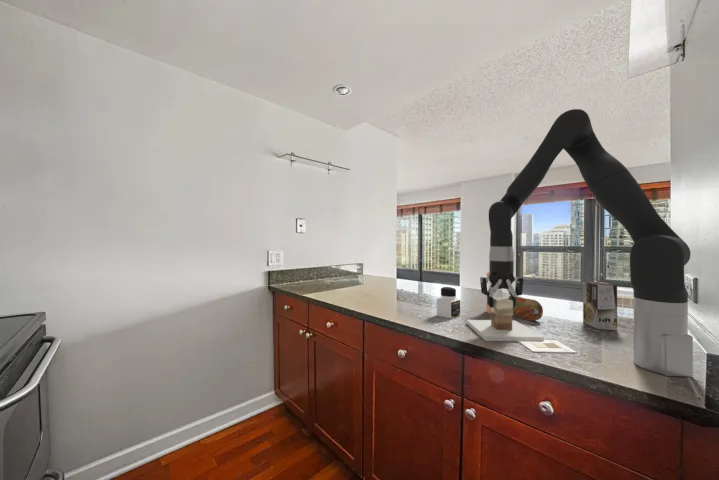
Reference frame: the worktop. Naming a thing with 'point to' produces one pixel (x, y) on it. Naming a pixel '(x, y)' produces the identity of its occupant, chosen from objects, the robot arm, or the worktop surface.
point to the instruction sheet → (546, 346)
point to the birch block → (502, 306)
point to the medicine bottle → (448, 303)
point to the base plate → (503, 332)
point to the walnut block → (501, 321)
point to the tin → (527, 309)
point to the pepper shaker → (496, 295)
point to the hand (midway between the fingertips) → (501, 307)
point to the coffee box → (600, 305)
